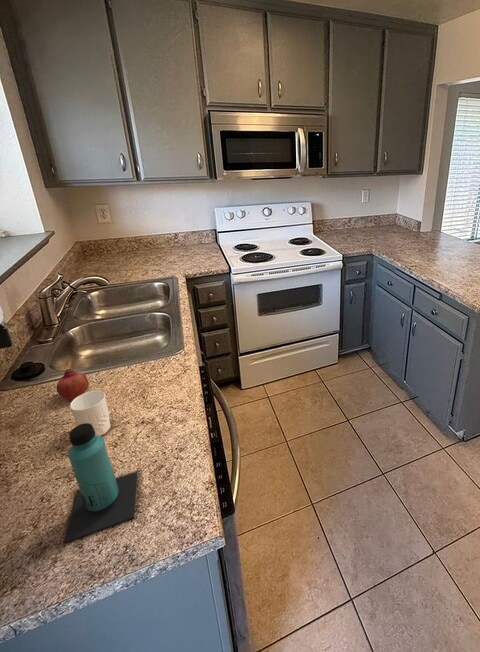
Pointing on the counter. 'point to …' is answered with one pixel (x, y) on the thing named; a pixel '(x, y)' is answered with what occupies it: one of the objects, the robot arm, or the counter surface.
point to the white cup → (92, 411)
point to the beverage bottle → (92, 468)
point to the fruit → (72, 384)
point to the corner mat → (103, 511)
